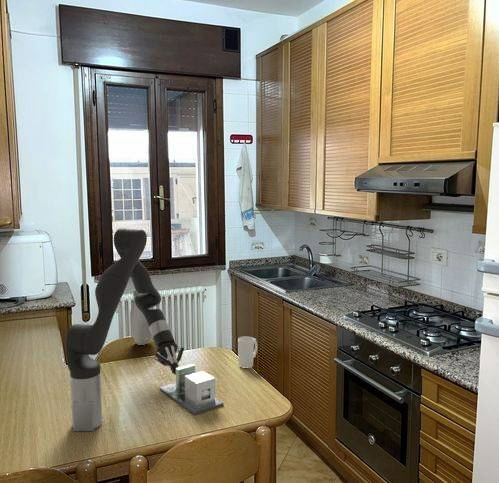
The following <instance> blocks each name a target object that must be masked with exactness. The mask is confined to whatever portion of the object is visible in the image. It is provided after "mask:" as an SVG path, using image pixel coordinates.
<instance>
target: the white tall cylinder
mask: <svg viewBox="0 0 499 483" xmlns="http://www.w3.org/2000/svg"><path fill="white" fill-rule="evenodd" d="M138 294H141V293H138V292H137V291H136V290H135V289H134V290H133V299H132V304H131V309H130V313H129V316H130V318H129V319H130V320H129V321H130V322H129V323H130V337H133V338H135V339H134V341H135V343H137V344H138V345H144V344H147V343H148V342H150V343H151V341H152V340H153V338H152V335H151V332H150V328H149V325H148V323H147V320H146V318H145V316H144V315H143V313H142V312H141V311H140V310H139V309H138V307H137V306H136V304H135V297H136V296H137V295H138ZM149 310H152V307H151V308H149ZM146 338H147V339H146ZM149 339H150V340H151V341H150V340H149ZM148 344H149V343H148ZM148 344H147V345H148ZM144 346H145V345H144Z"/></svg>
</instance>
